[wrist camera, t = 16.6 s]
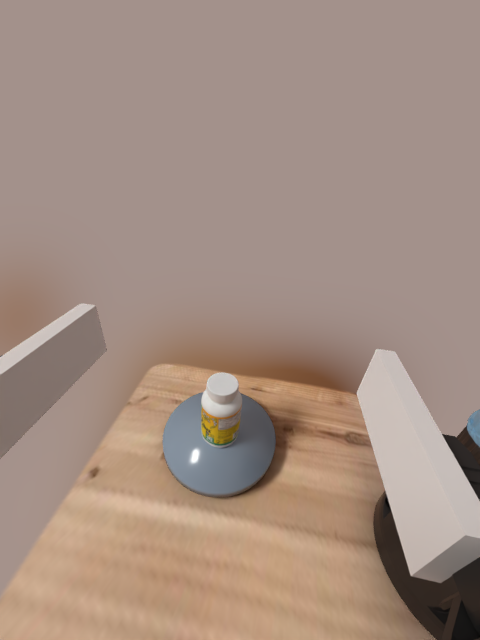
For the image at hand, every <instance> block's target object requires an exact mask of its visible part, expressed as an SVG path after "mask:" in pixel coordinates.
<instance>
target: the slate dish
mask: <svg viewBox="0 0 480 640" xmlns="http://www.w3.org/2000/svg"><path fill="white" fill-rule="evenodd" d="M203 393H204V392H202V393H199V394H196V395H194V396H192V397H190V398H188V399H187V400H185V401H184V402H182V403H181V404H180V405H179V406H178V407H177V408H176V409H175V410H174V412H173V413H172V414H171V416H170V417H169V419H168V421H167V424H166V426H165V429H164V434H163V450H164V456H165V460H166V463H167V466H168V468H169V470H170V471H171V473H172V475H173V476H174V477H175V478H176V480H177V481H178V482H179V483H181V484H182V485H183V486H184V487H186V488H187V489H189V490H190V491H193V492H195V493H197V494H200V495H204V496H208V497H228V496H233V495H236V494H239V493H242V492H244V491H246V490H248V489H249V488H251V487H252V486H254V485H255V484H256V483H257V482H258V481H259V480H260V479H261V478H262V477H263V476H264V475H265V473H266V472H267V470H268V468H269V466H270V464H271V461H272V458H273V455H274V450H275V443H276V438H275V431H274V427H273V424H272V421H271V419H270V417H269V416H268V414H267V413H266V411H265V410H264V409H263V408H262V407H261V406H260V405H259V404H258V403H257V402H256V401H254V400H253V399H251V398H249V397H248V396H246V395H243V394H241V393H240V394H241V396H242V408H241V416H240V426H239V433H238V436H237V438H236V440H235V441H234V442H233V443H232V444H231V445H229V446H227V447H223V448H217V447H213V446H211V445H210V444H208V443H207V442H206V441H205V440H204V439H203V436H202V432H201V399H202V395H203Z"/></svg>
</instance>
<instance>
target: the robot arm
mask: <svg viewBox="0 0 480 640" xmlns="http://www.w3.org/2000/svg"><path fill="white" fill-rule="evenodd" d="M106 350H107V349H106V344H105V340H104V336H103V333H102V328H101V325H100V321H99V317H98V313H97V309H96V306H95V305H89V304H83V303H81V304H79V305H78V306H76V307H75V308H73V309H72V310H70V311H69V312H67V313H66V314H64V315H63V316H61V317H60V318H58V319H57V320H55V321H54V322H52V323H51V324H50V325H48V326H46V327H45V328H43V329H42V330H40V331H39V332H37V333H36V334H34V335H33V336H31V337H30V338H28V339H27V340H25V341H24V342H22V343H21V344H19V345H18V346H16V347H15V348H13V349H12V350H11V351H9V352H7V353H6V354H4V355H2V356H0V459H1V458H2V457H3V456H4V455H5V454H6V453H7V451H9V449H10V448H11V447H12V446H13V445H14V444H15V443H16V442H17V441H18V440H19V439H20V438H21V437H22V436H23V435H24V434H25V433H26V432H27V431H28V430H29V429H30V428H31V427H32V426H33V425H34V424H35V423H36V422H37V421H38V420H39V419H40V418H41V417H42V416H43V415H44V414H45V413H46V412H47V411H48V410H49V409H50V408H51V407H52V406H53V405H54V404H55V403H56V402H57V400H58V399H60V397H61V396H62V395H63V394H64V393H65V392H66V391H67V390H68V389H69V388H70V387H71V386H72V385H73V384H74V383H75V382H76V381H77V380H78V379H79V378H80V377H81V376H82V375H83V374H84V373H85V372H86V371H87V370H88V369H89V368H90V367H91V366H92V365H93V364H94V363H95V362H96V360H98V359H99V358H100V357H101V356H102V355H103V354H104V353H105V352H106ZM357 396H358V400H359V403H360V407H361V410H362V413H363V417H364V420H365V423H366V427H367V430H368V433H369V437H370V440H371V444H372V447H373V450H374V454H375V457H376V460H377V464H378V467H379V471H380V474H381V477H382V481H383V484H384V487H385V492H384V493H383V494H382V496H381V497H380V499H379V500H378V502H377V505H376V508H375V512H374V534H375V540H376V544H377V548H378V551H379V554H380V557H381V560H382V562H383V565H384V567H385V569H386V572H387V574H388V576H389V578H390V580H391V581H392V583H393V585H394V587H395V588H396V590H397V592H398V593H399V595H400V596H401V598H402V599H403V601H404V602H405V604H406V605H407V607H408V608H409V609H410V610H411V612H412V613H413V614H414V616H415V617H416V618H417V619H418V620H419V622H420V623H421V624H422V625H423V626H424V627H425V628H426V629H427V630H428V631H429V632H430V633H431V634H432V635H433V636H434V637H435V638H436V639H437V640H480V410H477V411H475V412H474V413H473V414H472V415H471V416H470V417H469V419H468V423H467V426H466V427H465V428H464V430H463V431H462V432H461V433H460V434H459V435H458V436H457V438H456V437H455V436H449V435H444V434H441V432H440V430H439V429H438V427H437V425H436V423H435V421H434V420H433V418H432V416H431V414H430V413H429V411H428V409H427V407H426V405H425V404H424V402H423V400H422V398H421V397H420V395H419V393H418V392H417V390H416V388H415V386H414V385H413V383H412V381H411V379H410V377H409V376H408V374H407V372H406V370H405V369H404V367H403V365H402V363H401V361H400V360H399V358H398V356H397V355H396V353H395V352H394V351H387V350H380V349H376V351H375V353H374V356H373V358H372V360H371V362H370V364H369V367H368V369H367V371H366V373H365V375H364V378H363V380H362V382H361V384H360V386H359V389H358V391H357Z"/></svg>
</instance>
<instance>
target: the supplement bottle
mask: <svg viewBox="0 0 480 640" xmlns="http://www.w3.org/2000/svg"><path fill="white" fill-rule="evenodd" d="M238 386H239V385H238V381H237V379H236V378H235V377H234V376H233V375H231V374H228V373H216V374H214V375H212V376H211V377H210V378H209V379H208V381H207V388H206V390H205V391H204V393H203V395H202V399H201V432H202V436H203V439H204V440H205V441H206V442H207V443H208V444H210V445H211V446H213V447H217V448H223V447H227V446H229V445H231V444H232V443H233V442H234V441H235V440H236V438H237V436H238V433H239V426H240V416H241V408H242V396H241V394H240V392H239V390H238Z"/></svg>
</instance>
